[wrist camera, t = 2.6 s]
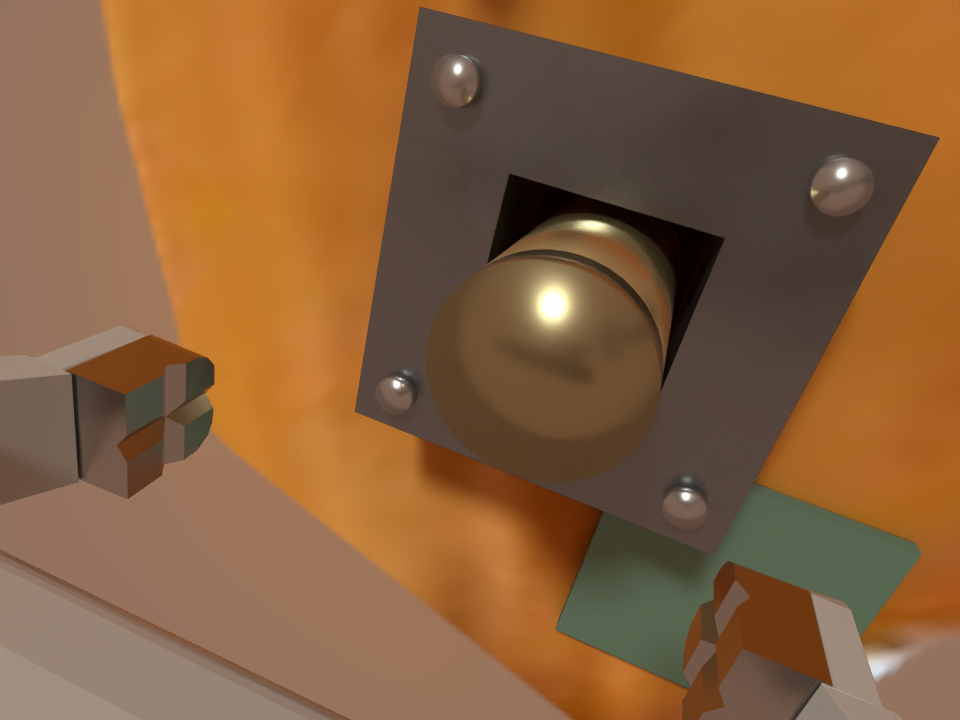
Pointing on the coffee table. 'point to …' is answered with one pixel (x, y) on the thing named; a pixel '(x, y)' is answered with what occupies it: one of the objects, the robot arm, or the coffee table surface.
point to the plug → (559, 343)
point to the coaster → (690, 573)
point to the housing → (652, 191)
